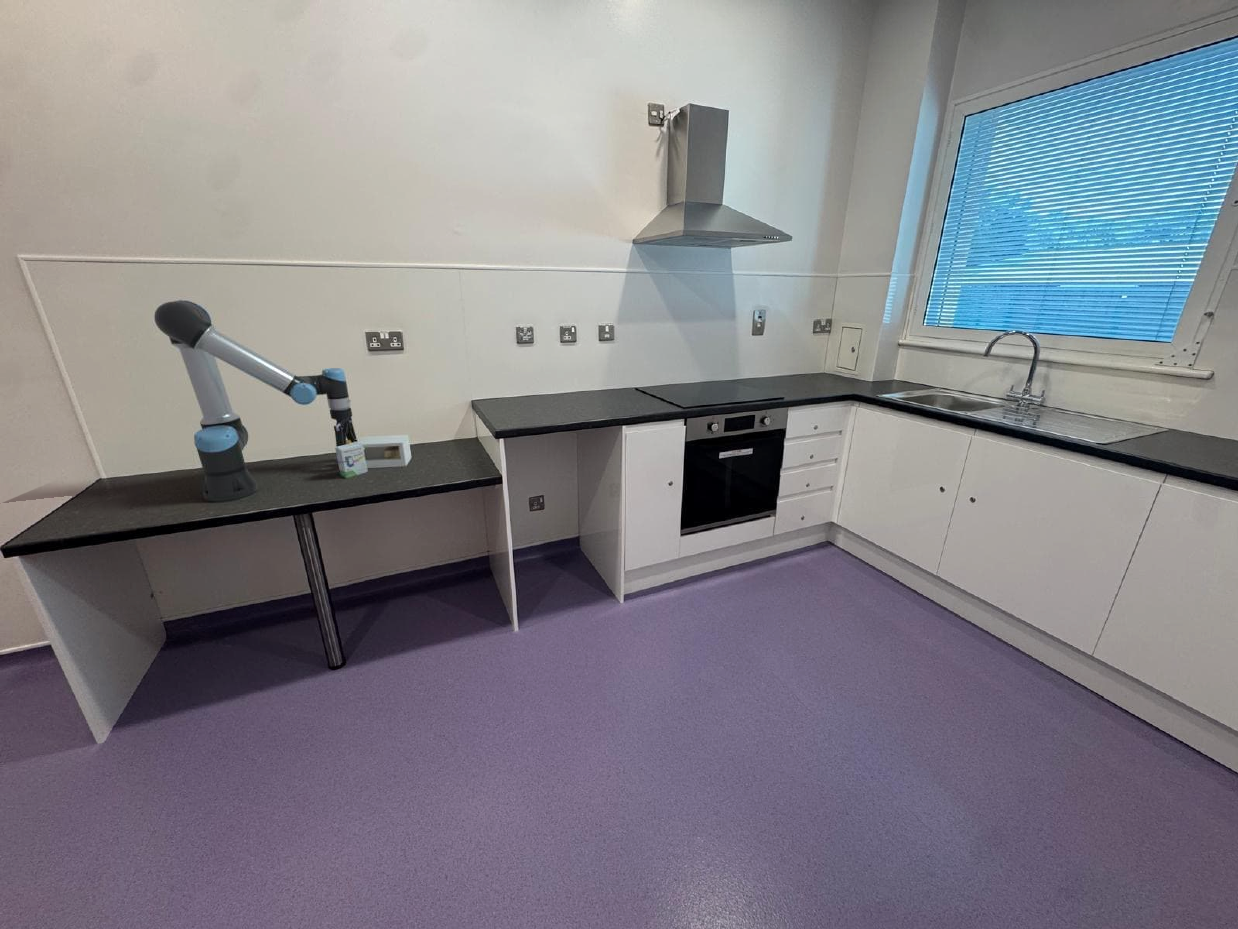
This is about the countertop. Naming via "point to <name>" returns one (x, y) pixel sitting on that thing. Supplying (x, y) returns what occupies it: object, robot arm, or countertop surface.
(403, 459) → the box
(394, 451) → the corded block
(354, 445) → the ink box
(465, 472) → the countertop surface
